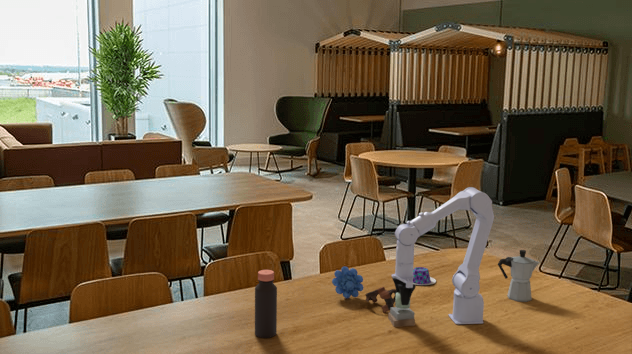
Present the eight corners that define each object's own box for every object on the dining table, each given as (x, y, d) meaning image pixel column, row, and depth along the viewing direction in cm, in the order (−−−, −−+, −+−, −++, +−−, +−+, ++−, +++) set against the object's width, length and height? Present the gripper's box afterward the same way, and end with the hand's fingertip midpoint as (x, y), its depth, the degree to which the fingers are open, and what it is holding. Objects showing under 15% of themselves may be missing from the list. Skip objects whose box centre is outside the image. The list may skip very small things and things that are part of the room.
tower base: (408, 318, 219) (408, 311, 218) (414, 327, 212) (415, 319, 211) (388, 319, 218) (388, 312, 217) (393, 328, 211) (394, 320, 210)
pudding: (402, 284, 252) (403, 271, 251) (407, 275, 263) (407, 262, 262) (434, 288, 249) (434, 275, 248) (437, 278, 260) (438, 266, 259)
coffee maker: (534, 294, 243) (538, 247, 240) (540, 303, 234) (544, 254, 231) (493, 292, 244) (496, 245, 241) (497, 300, 236) (500, 252, 233)
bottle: (265, 327, 208) (265, 267, 204) (281, 333, 203) (281, 271, 200) (250, 334, 202) (250, 272, 199) (265, 340, 198) (266, 277, 195)
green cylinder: (407, 303, 216) (408, 291, 216) (411, 308, 212) (412, 296, 211) (393, 303, 216) (394, 291, 215) (397, 308, 211) (397, 297, 210)
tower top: (406, 311, 218) (407, 306, 218) (414, 318, 212) (414, 312, 212) (390, 313, 217) (390, 307, 216) (397, 320, 211) (397, 314, 211)
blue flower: (334, 303, 230) (335, 270, 228) (330, 296, 236) (331, 264, 234) (366, 301, 232) (367, 269, 230) (361, 295, 239) (362, 263, 237)
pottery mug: (377, 316, 220) (368, 293, 222) (368, 318, 229) (358, 296, 231) (407, 303, 225) (398, 280, 226) (397, 305, 233) (387, 284, 235)
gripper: (387, 255, 218) (385, 294, 220) (398, 268, 204) (396, 310, 206) (407, 255, 219) (406, 293, 221) (420, 268, 204) (418, 309, 207)
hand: (402, 301), depth 213 cm, fingers closed on green cylinder, 5 cm apart
